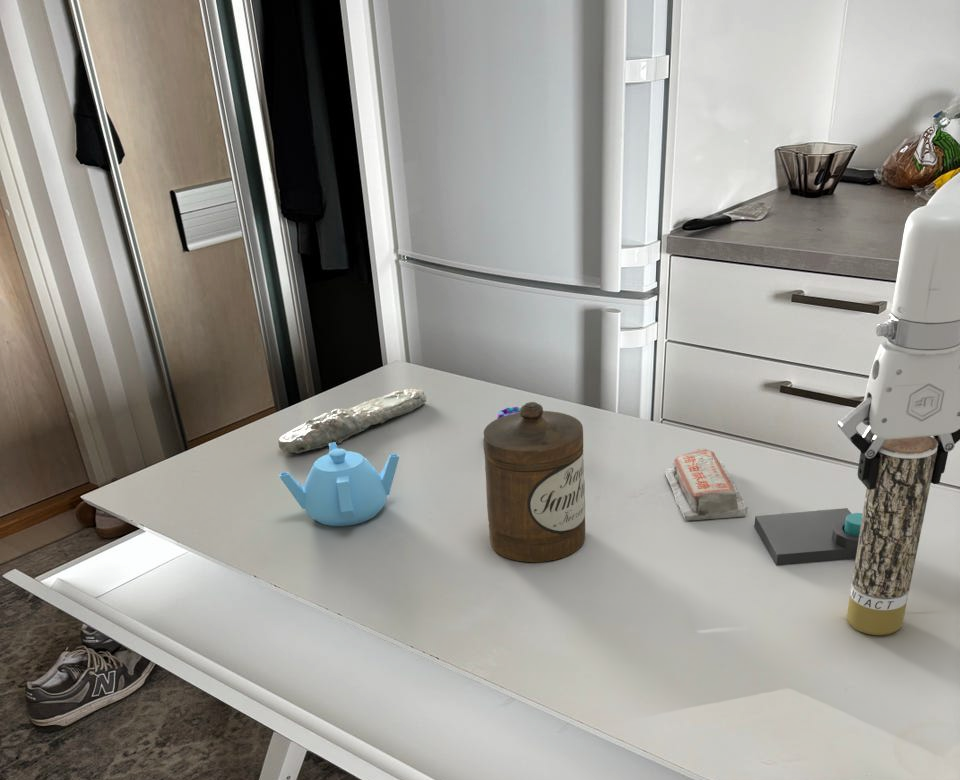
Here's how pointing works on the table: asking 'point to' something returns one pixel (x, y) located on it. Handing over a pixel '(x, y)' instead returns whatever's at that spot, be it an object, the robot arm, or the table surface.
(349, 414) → the foil wrapped baguette
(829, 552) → the push button base
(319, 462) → the teapot
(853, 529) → the tare button
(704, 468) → the packaged product
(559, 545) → the wooden container
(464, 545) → the table surface
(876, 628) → the paper tube
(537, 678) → the table surface
